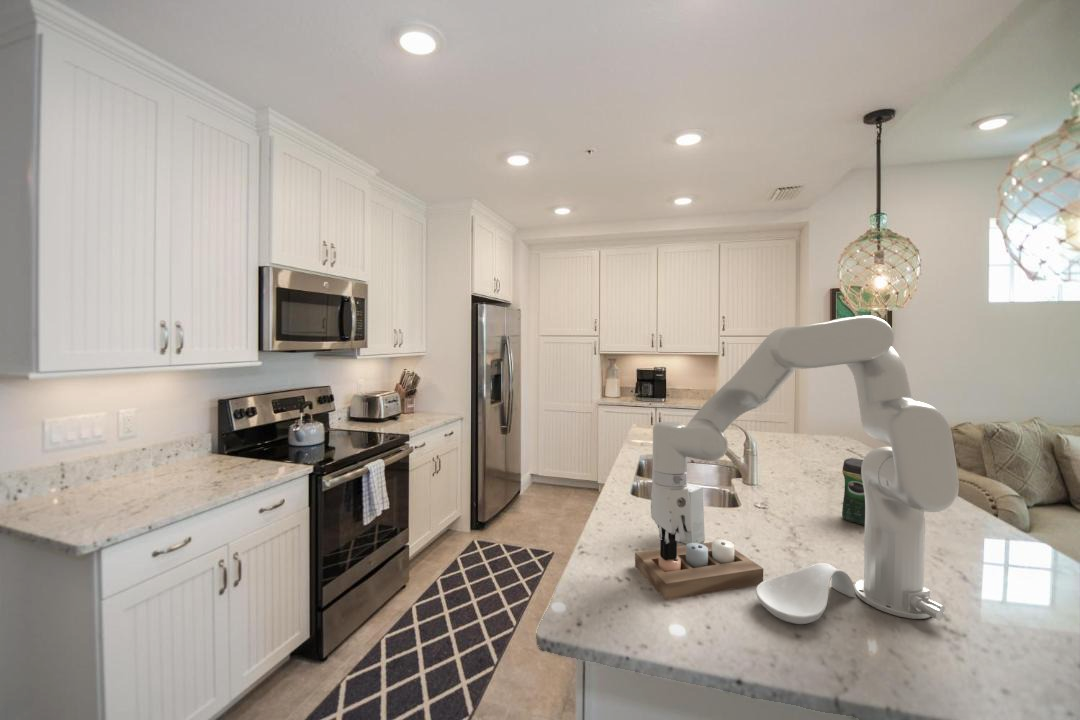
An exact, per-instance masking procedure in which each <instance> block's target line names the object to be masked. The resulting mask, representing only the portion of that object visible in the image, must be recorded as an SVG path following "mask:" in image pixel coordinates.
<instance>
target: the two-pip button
mask: <svg viewBox="0 0 1080 720" xmlns="http://www.w3.org/2000/svg"><path fill="white" fill-rule="evenodd" d="M685 545H686V563H687V564H689V565H690V566H691V567H692V568H698V567H704V566H708V548H707V547H706V546H705V545H702V544H699V543H688V544H685Z"/></svg>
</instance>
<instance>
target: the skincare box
mask: <svg viewBox="0 0 1080 720" xmlns="http://www.w3.org/2000/svg"><path fill="white" fill-rule="evenodd" d="M687 488H688V491H689V497H690V506H691V532H690V533H687V532H685V531H684V537H685V541H680V543H683V544H684V545H687V544H688V543H699V544H700V543H705V541H706V540H705V539H706V538H705V536H706V535H705V514H704V513H705V509H704V490H703V489H704V488H703V487H702V486H700V485H694V484H691V483H689V482H687Z"/></svg>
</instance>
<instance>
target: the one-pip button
mask: <svg viewBox="0 0 1080 720" xmlns="http://www.w3.org/2000/svg"><path fill="white" fill-rule="evenodd" d="M711 542H712V558H713V559H714V560H715V561H717V562H718V563H719V564H725V563H731V562H734V549H735V544H734V543H733V542H731V541H729V540H725V539H713V540H712V541H711Z"/></svg>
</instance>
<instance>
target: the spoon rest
mask: <svg viewBox="0 0 1080 720" xmlns="http://www.w3.org/2000/svg"><path fill="white" fill-rule="evenodd" d="M830 587H832V589H834V590H835V591H837V592H839V593H841V594H844V595H845V596H847V597H850V598H855V597H856V592H855V584H854V583H853V581H852V579H851V577H850V575H849V574H848V573H847V572H846V571H844V570H842V569H839V568H836V567H835V566H833V565H831V564H829V563H825V562H819V563H814V564H813V565H809V566H806V567H803V568H800V569H797V570H794V571H792V572H789V573H785V574H781V575H778V576H775V577H771V578H768V579H765V580H763V582H761V583H760V584H759V585H756V589H755V595H756V596H757V599H758V601H759V602H760V604H761V605H762V607H764V609H766V610H767V612H769V613H770V614H771V615H773V616H774V617H776V618H777V619H779V620H781V621H785V622H788V623H791V624H794V625H795V624H796V625H804V624H805V625H806V624H809V623H813V622H815V621H816V620H818V619H819V618H820V617H822V615H823V614H824V612H825V611H826V608H827V605H828V600H829V594H830Z"/></svg>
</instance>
